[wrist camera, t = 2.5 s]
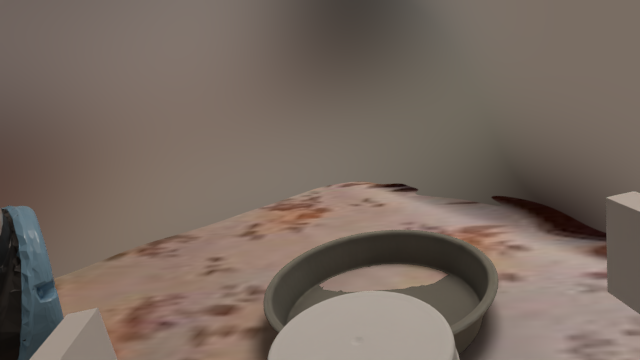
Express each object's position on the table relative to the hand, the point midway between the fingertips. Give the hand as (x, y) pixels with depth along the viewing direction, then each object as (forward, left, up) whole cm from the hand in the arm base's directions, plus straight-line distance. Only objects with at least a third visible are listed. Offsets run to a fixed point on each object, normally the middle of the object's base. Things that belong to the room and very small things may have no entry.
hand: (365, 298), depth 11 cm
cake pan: (+26, +20, -23) cm, 40 cm away
